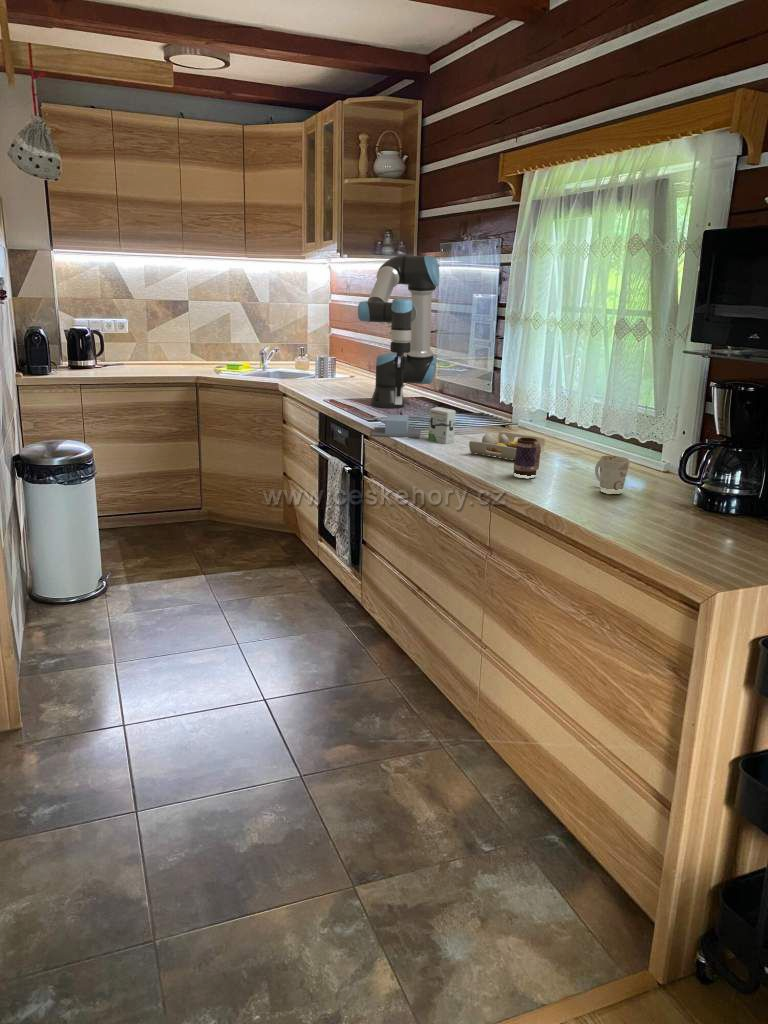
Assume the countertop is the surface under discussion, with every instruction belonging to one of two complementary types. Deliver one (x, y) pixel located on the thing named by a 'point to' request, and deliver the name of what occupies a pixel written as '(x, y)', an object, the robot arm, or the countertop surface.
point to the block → (396, 424)
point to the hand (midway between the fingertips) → (398, 404)
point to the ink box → (442, 425)
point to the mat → (410, 434)
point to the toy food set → (501, 444)
